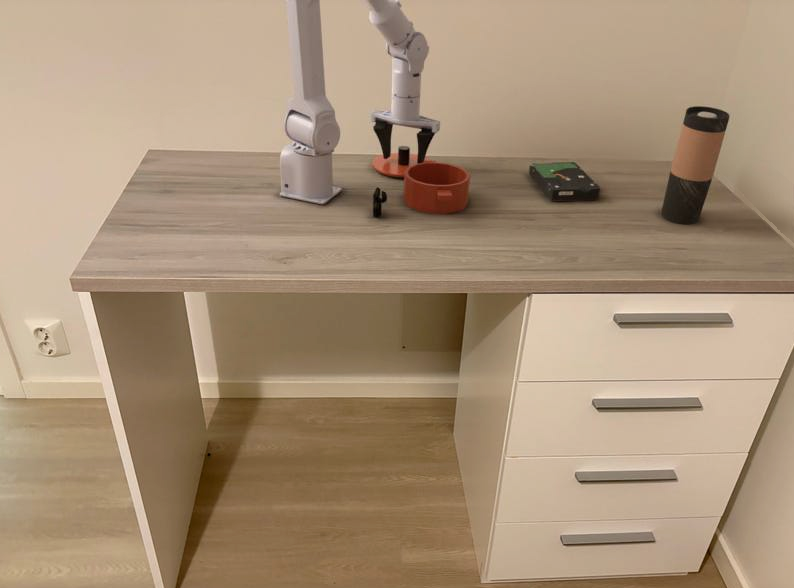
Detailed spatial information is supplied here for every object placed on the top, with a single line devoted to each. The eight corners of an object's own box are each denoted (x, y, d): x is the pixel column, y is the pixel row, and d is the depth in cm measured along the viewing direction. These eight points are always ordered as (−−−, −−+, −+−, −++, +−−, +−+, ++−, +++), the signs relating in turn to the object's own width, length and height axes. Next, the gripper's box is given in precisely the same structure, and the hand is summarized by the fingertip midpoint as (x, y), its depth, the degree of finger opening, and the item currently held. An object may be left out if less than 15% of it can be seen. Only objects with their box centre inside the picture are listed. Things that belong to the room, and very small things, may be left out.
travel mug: (706, 217, 140) (737, 113, 129) (688, 228, 136) (719, 121, 124) (671, 205, 145) (698, 103, 133) (652, 215, 140) (678, 110, 128)
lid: (375, 180, 147) (375, 159, 144) (369, 157, 157) (369, 137, 155) (439, 180, 149) (440, 158, 146) (428, 157, 159) (430, 137, 157)
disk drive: (599, 201, 145) (572, 173, 156) (602, 188, 143) (574, 160, 155) (550, 203, 142) (527, 174, 154) (553, 189, 141) (528, 161, 152)
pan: (411, 220, 132) (412, 192, 129) (398, 184, 146) (399, 157, 143) (476, 219, 134) (479, 191, 131) (457, 183, 148) (459, 157, 145)
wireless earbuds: (372, 207, 136) (373, 181, 133) (386, 207, 136) (386, 181, 133) (372, 223, 130) (373, 196, 127) (386, 223, 130) (387, 196, 127)
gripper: (446, 94, 145) (442, 160, 153) (380, 84, 149) (379, 149, 157) (434, 103, 140) (431, 171, 148) (366, 92, 144) (366, 159, 151)
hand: (403, 160), depth 152 cm, fingers open, 7 cm apart
